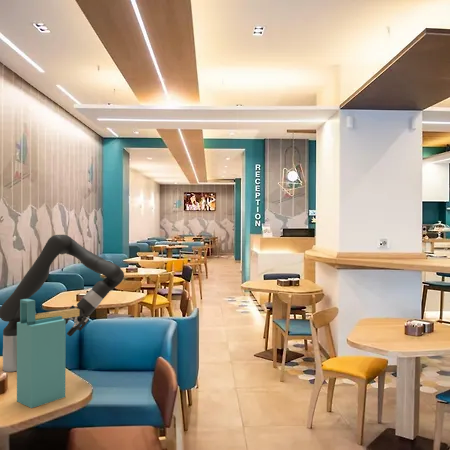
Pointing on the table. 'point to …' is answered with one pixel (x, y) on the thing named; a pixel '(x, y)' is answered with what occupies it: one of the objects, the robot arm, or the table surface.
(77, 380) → the table surface
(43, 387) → the teal brick phone
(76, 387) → the table surface
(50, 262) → the robot arm
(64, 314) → the wooden bar
